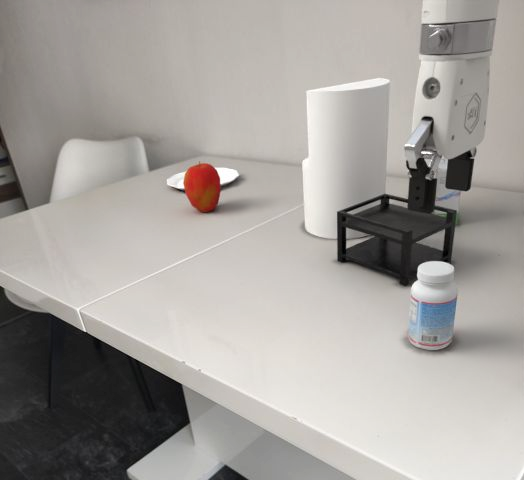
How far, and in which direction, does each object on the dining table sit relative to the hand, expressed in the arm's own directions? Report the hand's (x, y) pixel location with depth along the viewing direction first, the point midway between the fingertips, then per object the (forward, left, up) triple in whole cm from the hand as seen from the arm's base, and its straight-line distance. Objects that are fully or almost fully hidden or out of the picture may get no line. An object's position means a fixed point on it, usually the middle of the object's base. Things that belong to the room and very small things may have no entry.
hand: (439, 200), depth 67 cm
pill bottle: (-1, 0, -20) cm, 20 cm away
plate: (+91, -42, -20) cm, 102 cm away
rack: (+17, -21, -20) cm, 34 cm away
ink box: (+19, -46, -20) cm, 53 cm away
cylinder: (+36, -33, -20) cm, 53 cm away
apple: (+72, -25, -20) cm, 79 cm away
